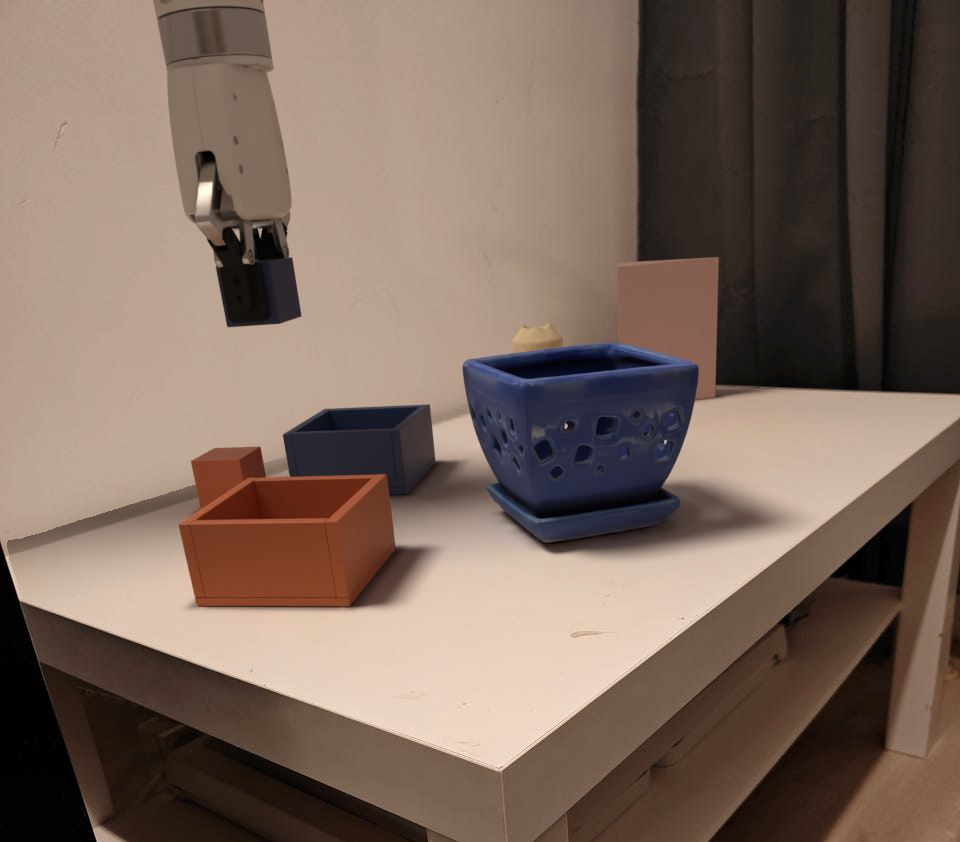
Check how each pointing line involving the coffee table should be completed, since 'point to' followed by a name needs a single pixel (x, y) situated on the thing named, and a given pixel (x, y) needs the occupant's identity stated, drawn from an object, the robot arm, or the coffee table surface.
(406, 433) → the navy bin
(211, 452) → the terracotta block
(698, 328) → the greeting card
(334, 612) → the coffee table surface
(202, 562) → the terracotta bin
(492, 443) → the flower pot
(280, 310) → the navy block
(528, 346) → the candle
